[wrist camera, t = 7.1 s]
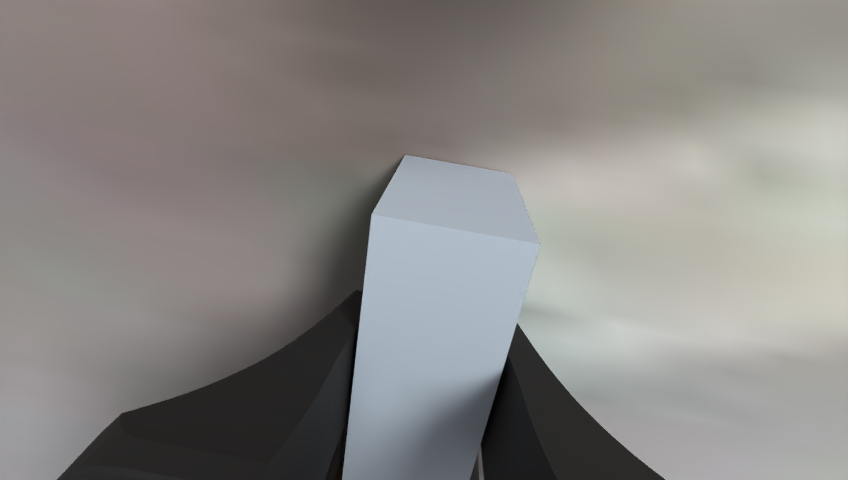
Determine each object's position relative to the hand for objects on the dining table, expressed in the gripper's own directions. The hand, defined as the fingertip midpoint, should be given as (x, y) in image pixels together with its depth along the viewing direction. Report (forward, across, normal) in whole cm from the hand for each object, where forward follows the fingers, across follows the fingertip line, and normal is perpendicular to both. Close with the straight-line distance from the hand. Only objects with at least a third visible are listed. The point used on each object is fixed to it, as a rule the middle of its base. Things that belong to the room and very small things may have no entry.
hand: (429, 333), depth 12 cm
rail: (+2, 0, +2) cm, 3 cm away
